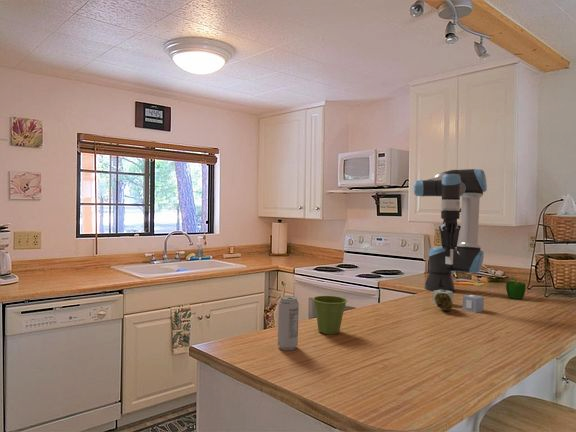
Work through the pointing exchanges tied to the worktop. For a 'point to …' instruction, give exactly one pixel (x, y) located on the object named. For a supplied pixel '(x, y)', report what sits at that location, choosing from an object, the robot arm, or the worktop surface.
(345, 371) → the worktop surface
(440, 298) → the potato
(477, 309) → the slate blue block
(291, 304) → the energy drink can
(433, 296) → the sage block
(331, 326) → the plant pot
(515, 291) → the bell pepper
